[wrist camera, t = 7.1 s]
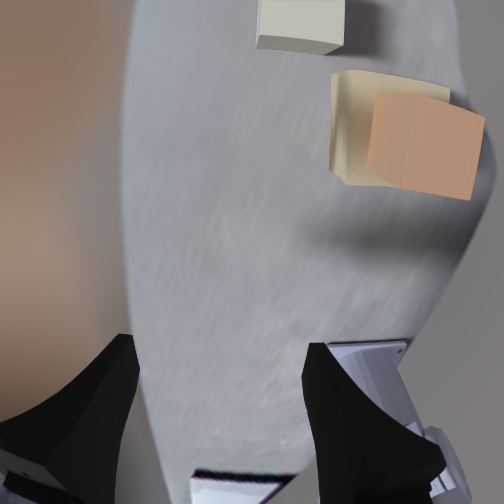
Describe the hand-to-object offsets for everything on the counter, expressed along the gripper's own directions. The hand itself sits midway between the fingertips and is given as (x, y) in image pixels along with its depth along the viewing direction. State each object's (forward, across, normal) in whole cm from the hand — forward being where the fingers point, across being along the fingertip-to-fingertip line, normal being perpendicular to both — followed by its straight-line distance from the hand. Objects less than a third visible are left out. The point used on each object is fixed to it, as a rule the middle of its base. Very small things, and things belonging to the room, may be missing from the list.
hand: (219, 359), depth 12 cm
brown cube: (+6, -9, -9) cm, 14 cm away
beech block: (+10, -9, -9) cm, 16 cm away
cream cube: (+10, -3, -15) cm, 18 cm away
